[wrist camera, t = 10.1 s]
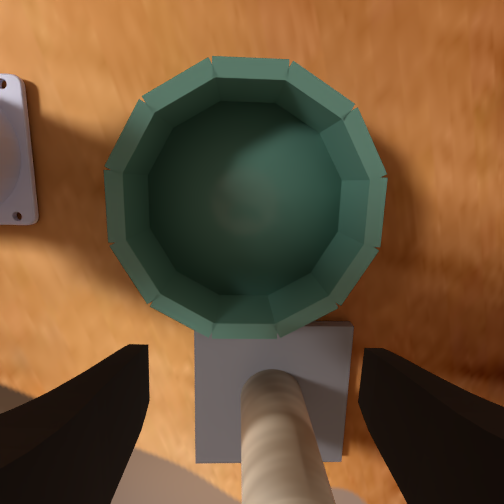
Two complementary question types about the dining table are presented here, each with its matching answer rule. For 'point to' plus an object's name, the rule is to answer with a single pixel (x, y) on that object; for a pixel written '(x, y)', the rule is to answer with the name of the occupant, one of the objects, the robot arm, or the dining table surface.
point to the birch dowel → (279, 444)
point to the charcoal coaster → (263, 358)
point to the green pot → (245, 198)
